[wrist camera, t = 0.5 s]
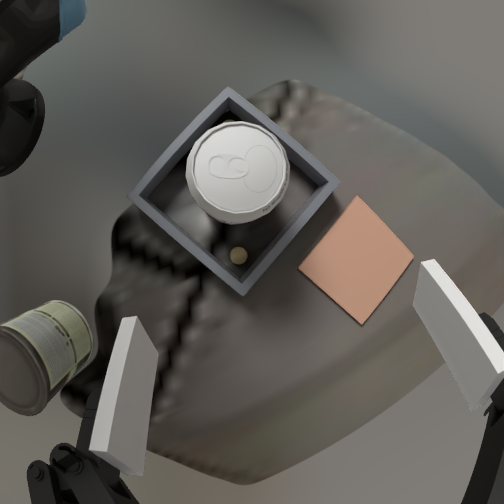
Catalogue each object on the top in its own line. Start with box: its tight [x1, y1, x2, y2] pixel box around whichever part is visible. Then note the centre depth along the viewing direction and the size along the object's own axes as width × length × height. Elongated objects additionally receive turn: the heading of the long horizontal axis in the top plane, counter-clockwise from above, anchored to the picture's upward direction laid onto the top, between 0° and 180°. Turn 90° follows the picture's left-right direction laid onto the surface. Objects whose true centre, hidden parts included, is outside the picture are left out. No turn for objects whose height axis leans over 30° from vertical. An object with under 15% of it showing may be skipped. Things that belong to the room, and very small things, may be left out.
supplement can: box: [186, 121, 290, 225], centre depth 30 cm, size 8×8×15 cm
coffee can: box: [0, 300, 94, 416], centre depth 30 cm, size 10×10×14 cm
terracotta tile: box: [297, 196, 414, 325], centre depth 39 cm, size 12×12×1 cm
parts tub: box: [127, 87, 340, 296], centre depth 35 cm, size 17×17×4 cm
